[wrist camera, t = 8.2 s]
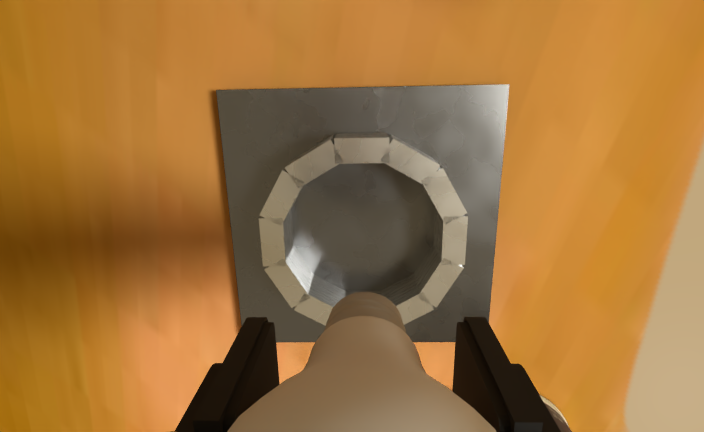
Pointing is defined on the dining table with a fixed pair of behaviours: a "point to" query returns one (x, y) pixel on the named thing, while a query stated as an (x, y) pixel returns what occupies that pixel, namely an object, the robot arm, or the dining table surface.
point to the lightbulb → (362, 382)
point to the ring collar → (364, 201)
